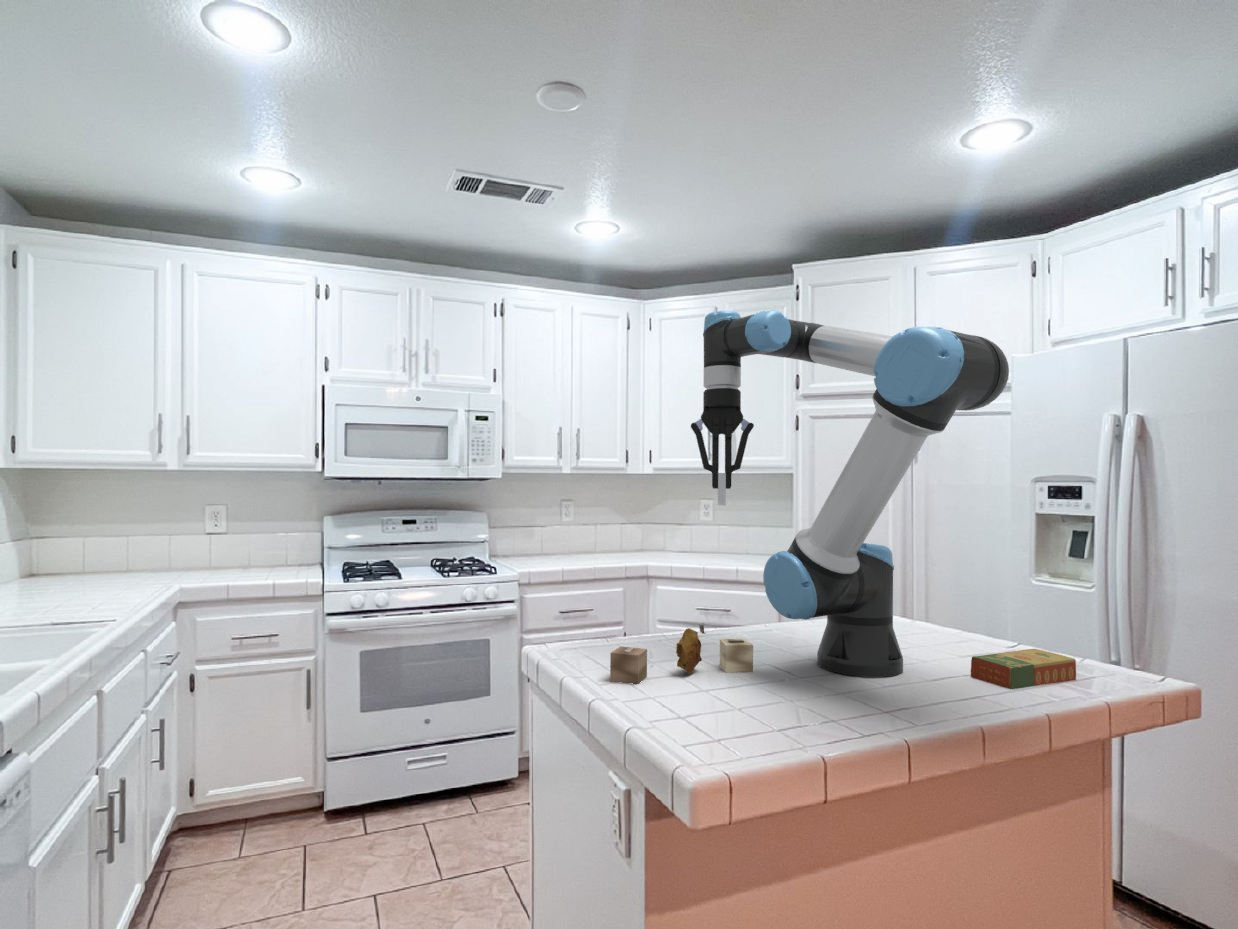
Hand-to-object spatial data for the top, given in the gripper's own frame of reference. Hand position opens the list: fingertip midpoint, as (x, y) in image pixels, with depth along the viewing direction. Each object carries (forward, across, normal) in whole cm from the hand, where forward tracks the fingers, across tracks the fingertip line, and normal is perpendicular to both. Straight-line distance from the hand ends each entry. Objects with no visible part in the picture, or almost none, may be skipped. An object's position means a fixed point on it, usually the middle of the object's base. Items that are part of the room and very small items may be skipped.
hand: (721, 505), depth 149 cm
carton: (+30, -52, +15) cm, 62 cm away
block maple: (+30, -2, +14) cm, 33 cm away
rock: (+30, +6, +17) cm, 35 cm away
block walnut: (+30, +17, +23) cm, 41 cm away
